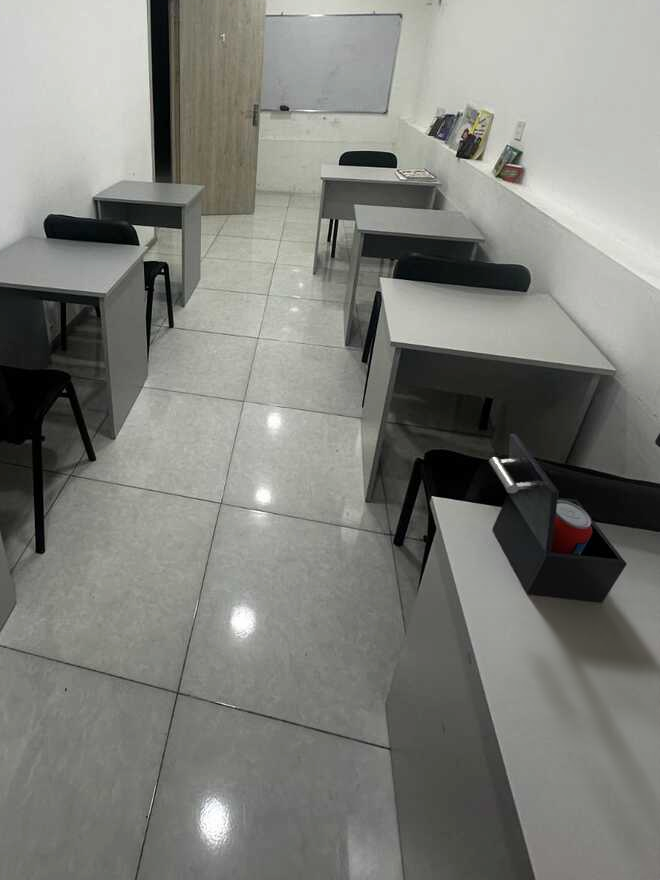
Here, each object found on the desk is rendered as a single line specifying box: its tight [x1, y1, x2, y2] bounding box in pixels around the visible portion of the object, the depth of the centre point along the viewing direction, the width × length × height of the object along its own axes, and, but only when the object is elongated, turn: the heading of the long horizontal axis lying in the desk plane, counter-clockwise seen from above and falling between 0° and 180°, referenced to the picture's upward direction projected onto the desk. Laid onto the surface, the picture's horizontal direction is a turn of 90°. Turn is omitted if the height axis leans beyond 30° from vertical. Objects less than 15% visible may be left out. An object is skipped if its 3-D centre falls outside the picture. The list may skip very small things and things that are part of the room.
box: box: [491, 493, 627, 604], centre depth 83 cm, size 12×12×10 cm
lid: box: [488, 433, 560, 553], centre depth 79 cm, size 13×12×6 cm
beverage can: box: [551, 500, 592, 555], centre depth 83 cm, size 7×7×12 cm
